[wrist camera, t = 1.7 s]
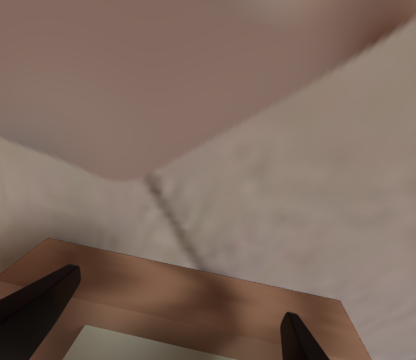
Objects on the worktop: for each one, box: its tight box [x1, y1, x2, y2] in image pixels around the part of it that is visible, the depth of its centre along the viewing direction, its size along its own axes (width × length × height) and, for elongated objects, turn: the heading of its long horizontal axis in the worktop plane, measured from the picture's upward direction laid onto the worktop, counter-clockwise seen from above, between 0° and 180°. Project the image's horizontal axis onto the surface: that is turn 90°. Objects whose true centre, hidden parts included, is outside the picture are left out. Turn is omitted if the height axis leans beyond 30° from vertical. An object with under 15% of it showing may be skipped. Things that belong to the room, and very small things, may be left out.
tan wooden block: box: [0, 238, 372, 360], centre depth 15 cm, size 20×14×4 cm
